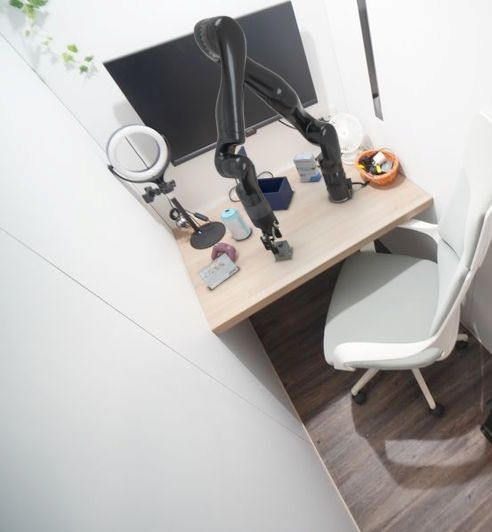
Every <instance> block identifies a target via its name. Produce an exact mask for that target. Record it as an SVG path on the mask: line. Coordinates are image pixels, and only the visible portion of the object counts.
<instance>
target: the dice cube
mask: <svg viewBox="0 0 492 532" xmlns="http://www.w3.org/2000/svg"><path fill="white" fill-rule="evenodd" d="M275 244H276V246H277V248H278V250H279V254H275V255H274V254H273V253H272V255H273V257H274V258H275V260H276V261H278V262H279V261H285V260H289V259H290V260H291V256H292V247H291V245H290V244H289V242H288V240H287V239H285V240H284V239H283V240H278V241H275Z"/></svg>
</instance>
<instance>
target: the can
mask: <svg viewBox="0 0 492 532" xmlns="http://www.w3.org/2000/svg"><path fill="white" fill-rule="evenodd" d="M220 220H221V222H222V223H223V224H224V226H225V227H226V229H227V230H228V231H229V233H230V234H231V236H232V237H233V239H234V240H237V241H238V240H244V239H246V238H247V237H248V236H249V235H250V234H251V228H250V227H249V224H247V222H246V220H245V219H244V217H243V215H242V214H241V212H240V211H239V210H238V209H236V208H235V207H227V208H225V209H223V210H222V212H220Z"/></svg>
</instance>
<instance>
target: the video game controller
mask: <svg viewBox="0 0 492 532" xmlns="http://www.w3.org/2000/svg"><path fill="white" fill-rule="evenodd" d="M224 253H226V254H227V256H228V257H229V258H230V260H231V261H232V262H233V263H234V262H235V260H236V254H237V249H236V247H235V246H234V245H231V244H228V243H226V242H217V243H215V244H214V245H213V246H212V251H211V254H210V258H211V260H212V261H214V260H215V259H217V258H218V257H219V256H221V255H223V254H224Z"/></svg>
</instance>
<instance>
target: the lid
mask: <svg viewBox="0 0 492 532" xmlns="http://www.w3.org/2000/svg"><path fill="white" fill-rule="evenodd" d="M236 154H241V155H245V156H247V157H248V154H247V151H246V148H245V146H244V145H240V148H239V149H238V151H237V153H236ZM238 183H240V181H239V180H238Z"/></svg>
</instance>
